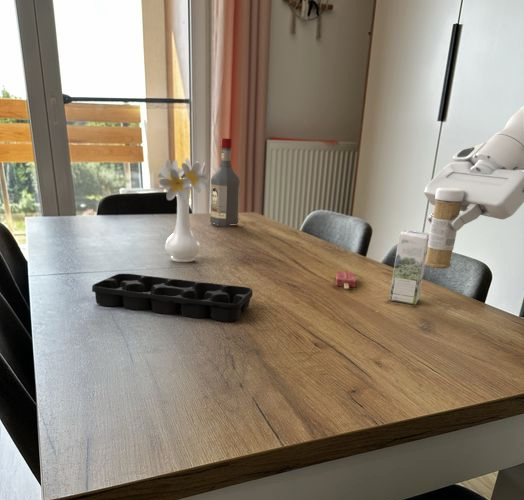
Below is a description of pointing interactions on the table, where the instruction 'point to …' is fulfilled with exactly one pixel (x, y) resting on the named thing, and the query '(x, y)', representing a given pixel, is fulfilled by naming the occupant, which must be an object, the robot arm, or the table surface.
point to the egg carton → (173, 296)
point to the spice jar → (443, 227)
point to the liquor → (225, 190)
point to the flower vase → (183, 206)
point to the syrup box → (409, 267)
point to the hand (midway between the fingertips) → (441, 224)
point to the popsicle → (345, 279)
